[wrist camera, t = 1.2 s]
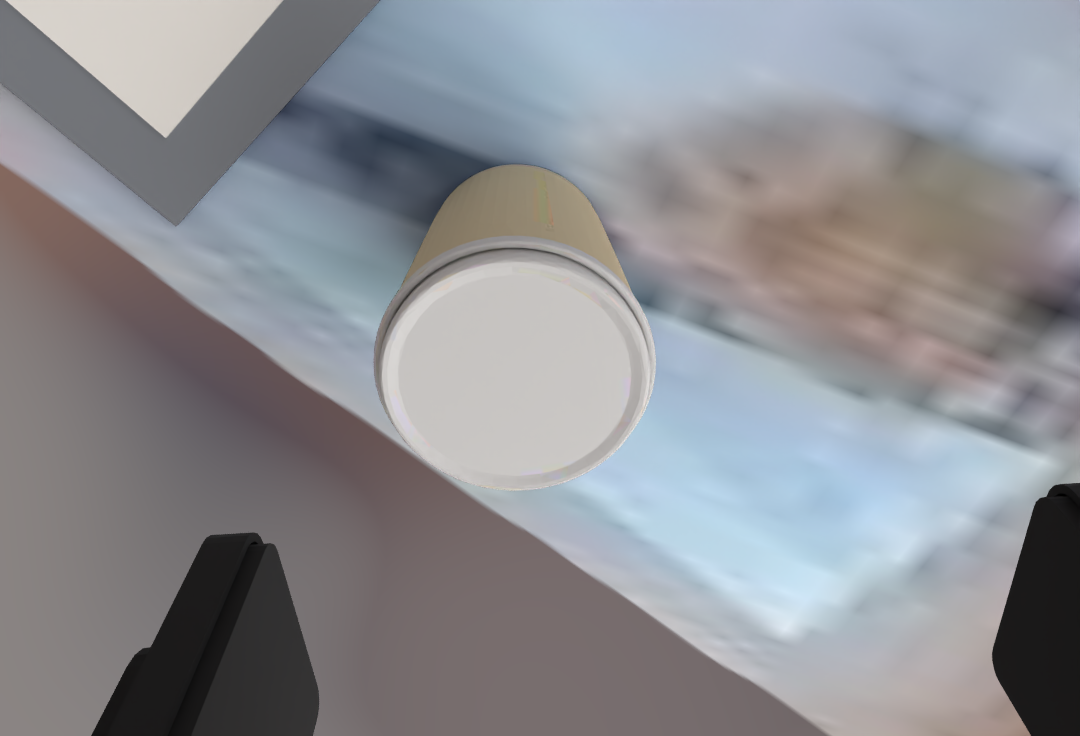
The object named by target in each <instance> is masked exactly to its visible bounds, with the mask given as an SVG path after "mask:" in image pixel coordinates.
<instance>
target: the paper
mask: <svg viewBox="0 0 1080 736" xmlns="http://www.w3.org/2000/svg"><path fill="white" fill-rule="evenodd" d="M6 1H7V2H8V3H9V4H11V5H12V6H13V7H14V8H15V9H16V10H17V11H19V12H20V13H21V14H22V15H23V16H24V17H26V18H27V19H28V20H29V21H30V22H31V23H33V24H34V25H35V26H36V27H37V28H38V29H40V30H41V31H42V32H43V33H44V34H45V35H46V36H48V37H49V38H50V39H51V40H52V41H53V42H55V43H56V44H57V45H58V46H59V47H60V48H62V49H63V50H64V51H65V52H66V53H67V54H69V55H70V56H71V57H72V58H73V59H74V60H75V61H77V62H78V63H79V64H80V65H81V66H82V67H84V68H85V69H86V70H87V71H88V72H89V73H91V74H92V75H93V76H94V77H95V78H96V79H98V80H99V81H100V82H101V83H102V84H103V85H105V86H106V87H107V88H108V89H109V90H110V91H111V92H113V93H114V94H115V95H116V96H117V97H118V98H120V99H121V100H122V101H123V102H124V103H125V104H127V105H128V106H129V107H130V108H131V109H132V110H134V111H135V112H136V113H137V114H138V115H139V116H140V117H142V118H143V119H144V120H145V121H146V122H147V123H149V124H150V125H151V126H152V127H153V128H154V129H156V130H157V131H158V132H159V133H160V134H161V135H163V136H164V137H165V138H167V137H168V136H169V135H170V133H171V132H172V131H173V130H174V129H175V127H176V126H177V125H178V124H179V123H180V122H181V120H182V119H183V118H184V117H185V116H186V114H187V113H188V112H189V111H190V110H191V109H192V107H193V106H194V105H195V104H196V103H197V102H198V100H199V99H200V98H201V97H202V96H203V94H204V93H205V92H206V91H207V90H208V89H209V87H210V86H211V85H212V84H213V83H214V82H215V80H216V79H217V78H218V77H219V76H220V74H221V73H222V72H223V71H224V70H225V69H226V67H227V66H228V65H229V64H230V63H231V62H232V60H233V59H234V58H235V57H236V56H237V54H238V53H239V52H240V51H241V50H242V49H243V47H244V46H245V45H246V44H247V43H248V42H249V40H250V39H251V38H252V37H253V36H254V34H255V33H256V32H257V31H258V30H259V29H260V27H261V26H262V25H263V24H264V23H265V22H266V20H267V19H268V18H269V17H270V16H271V14H272V13H273V12H274V11H275V10H276V9H277V7H278V6H279V5H280V4H281V3H282V2H283V0H6Z"/></svg>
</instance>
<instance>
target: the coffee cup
mask: <svg viewBox="0 0 1080 736" xmlns="http://www.w3.org/2000/svg"><path fill="white" fill-rule="evenodd" d="M655 364H656V356H655V347H654V341H653V337H652V332H651V329H650V326H649V323H648V321H647V318H646V316H645V314H644V312H643V310H642V308H641V306H640V304H639V303H638V301H637V299H636V298H635V296H634V295H633V294H632V291H631V289H630V287H629V284H628V282H627V280H626V277H625V275H624V273H623V271H622V268H621V266H620V264H619V261H618V259H617V257H616V255H615V252H614V250H613V248H612V246H611V244H610V241H609V239H608V237H607V235H606V232H605V230H604V228H603V226H602V224H601V221H600V219H599V217H598V216H597V214H596V212H595V210H594V209H593V207H592V205H591V203H590V202H589V201H588V199H587V198H586V197H585V195H584V194H583V193H582V192H581V191H580V190H579V189H578V188H577V187H575V186H574V185H573V184H572V183H571V182H569V181H568V180H567V179H565V178H564V177H562V176H560V175H558V174H556V173H554V172H552V171H550V170H547V169H544V168H541V167H537V166H532V165H524V164H508V165H501V166H496V167H492V168H489V169H486V170H484V171H481V172H479V173H477V174H475V175H473V176H472V177H470V178H468V179H467V180H465V181H464V182H463V183H461V184H460V185H459V186H458V187H457V188H456V189H455V190H454V191H453V192H452V193H451V194H450V195H449V197H448V198H447V199H446V200H445V202H444V203H443V205H442V207H441V208H440V210H439V212H438V213H437V215H436V217H435V218H434V220H433V222H432V224H431V226H430V228H429V230H428V232H427V234H426V236H425V238H424V240H423V242H422V244H421V246H420V248H419V250H418V252H417V254H416V257H415V259H414V261H413V263H412V265H411V267H410V269H409V271H408V273H407V275H406V277H405V279H404V281H403V283H402V286H401V288H400V289H399V290H398V292H397V293H396V295H395V296H394V298H393V299H392V301H391V303H390V304H389V306H388V308H387V310H386V312H385V314H384V316H383V318H382V320H381V323H380V326H379V329H378V332H377V337H376V342H375V348H374V376H375V382H376V387H377V391H378V394H379V397H380V401H381V403H382V405H383V407H384V410H385V412H386V414H387V415H388V417H389V419H390V421H391V422H392V424H393V425H394V427H395V428H396V430H397V431H398V433H399V434H400V435H401V437H402V438H403V440H404V441H405V442H406V443H407V444H408V445H409V446H410V447H411V448H412V449H413V451H414V452H416V453H417V454H418V455H419V456H420V457H421V458H422V459H424V460H425V461H426V462H428V463H429V464H431V465H432V466H433V467H435V468H436V469H438V470H440V471H442V472H443V473H445V474H447V475H449V476H451V477H454V478H456V479H458V480H460V481H463V482H466V483H470V484H473V485H477V486H480V487H484V488H491V489H498V490H510V491H515V490H532V489H540V488H545V487H550V486H554V485H558V484H561V483H564V482H567V481H569V480H572V479H575V478H577V477H579V476H581V475H583V474H585V473H587V472H589V471H590V470H592V469H594V468H595V467H597V466H598V465H600V464H601V463H602V462H604V461H605V460H606V459H608V458H609V457H610V456H611V455H612V454H613V453H614V452H615V451H617V450H618V449H619V448H620V446H621V445H622V444H623V443H624V442H625V440H626V439H627V438H628V436H629V435H630V434H631V432H632V431H633V430H634V428H635V427H636V425H637V424H638V422H639V421H640V419H641V417H642V415H643V413H644V411H645V410H646V407H647V405H648V402H649V399H650V397H651V393H652V389H653V385H654V379H655Z"/></svg>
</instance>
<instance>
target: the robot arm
mask: <svg viewBox="0 0 1080 736" xmlns="http://www.w3.org/2000/svg"><path fill="white" fill-rule="evenodd" d="M992 661H993V666H994V670H995V673H996V676H997V678H998V680H999V682H1000V684H1001V686H1002V687H1003V689H1004V691H1005V692H1006V694H1007V696H1008V697H1009V699H1010V701H1011V702H1012V704H1013V706H1014V707H1015V709H1016V711H1017V713H1018V714H1019V716H1020V718H1021V719H1022V721H1023V723H1024V724H1025V726H1026V728H1027V729H1028V731H1029V733H1030V734H1031V736H1080V483H1072V484H1059V485H1055V486H1053V487H1052V488H1051V489H1050V490H1049V492H1048V495H1047V497H1043V498H1040V499H1039V500H1038V501H1037V502H1036V504H1035V506H1034V509H1033V512H1032V516H1031V519H1030V523H1029V526H1028V529H1027V533H1026V536H1025V540H1024V543H1023V547H1022V550H1021V554H1020V557H1019V560H1018V564H1017V567H1016V571H1015V574H1014V578H1013V581H1012V585H1011V588H1010V591H1009V595H1008V598H1007V602H1006V605H1005V609H1004V612H1003V616H1002V619H1001V622H1000V626H999V629H998V633H997V636H996V640H995V643H994V647H993V652H992ZM318 692H319V691H318V687H317V683H316V679H315V676H314V672H313V669H312V666H311V662H310V659H309V656H308V652H307V649H306V645H305V642H304V639H303V635H302V632H301V629H300V625H299V622H298V618H297V615H296V612H295V608H294V605H293V601H292V598H291V595H290V591H289V588H288V585H287V581H286V578H285V574H284V571H283V568H282V564H281V561H280V558H279V554H278V551H277V549H276V547H275V545H274V544H271V543H269V544H263V542H262V539H261V537H260V536H259V535H258V534H257V533H240V534H223V535H210V536H209V537H207V538H206V539H205V541H204V542H203V544H202V545H201V548H200V550H199V551H198V554H197V555H196V558H195V559H194V561H193V563H192V565H191V568H190V569H189V572H188V574H187V576H186V578H185V580H184V582H183V584H182V586H181V588H180V590H179V592H178V594H177V596H176V598H175V600H174V602H173V604H172V606H171V608H170V610H169V612H168V614H167V616H166V618H165V620H164V622H163V624H162V626H161V628H160V630H159V632H158V634H157V636H156V638H155V640H154V642H153V644H152V646H151V647H150V648H143V649H142V650H140V651H139V652H138V653H137V654H135V655H134V657H133V658H132V660H131V662H130V663H129V664H128V666H127V668H126V669H125V671H124V673H123V675H122V677H121V679H120V681H119V683H118V685H117V687H116V689H115V691H114V693H113V695H112V697H111V698H110V701H109V702H108V704H107V706H106V708H105V710H104V712H103V714H102V716H101V718H100V720H99V722H98V724H97V726H96V728H95V730H94V731H93V733H92V735H91V736H313V732H314V729H315V725H316V721H317V716H318V710H319V693H318Z"/></svg>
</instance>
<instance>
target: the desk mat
mask: <svg viewBox="0 0 1080 736" xmlns="http://www.w3.org/2000/svg"><path fill="white" fill-rule="evenodd" d="M379 1H380V0H283V2H282V3H281V4H280V5H279V6H278V7H277V9H276V10H275V11H274V12H273V13H272V14H271V16H270V17H269V18H268V19H267V20H266V22H265V23H264V24H263V25H262V26H261V27H260V29H259V30H258V31H257V32H256V33H255V34H254V36H253V37H252V38H251V39H250V40H249V42H248V43H247V44H246V45H245V46H244V47H243V49H242V50H241V51H240V52H239V53H238V54H237V56H236V57H235V58H234V59H233V60H232V62H231V63H230V64H229V65H228V66H227V67H226V69H225V70H224V71H223V72H222V73H221V74H220V76H219V77H218V78H217V79H216V80H215V82H214V83H213V84H212V85H211V86H210V87H209V89H208V90H207V91H206V92H205V93H204V94H203V96H202V97H201V98H200V99H199V100H198V102H197V103H196V104H195V105H194V106H193V107H192V109H191V110H190V111H189V112H188V113H187V114H186V116H185V117H184V118H183V119H182V120H181V122H180V123H179V124H178V125H177V126H176V127H175V129H174V130H173V131H172V132H171V133H170V135H169V136H168V137H167V138H165V137H164V136H163V135H161V134H160V133H159V132H158V131H157V130H156V129H154V128H153V127H152V126H151V125H150V124H149V123H147V122H146V121H145V120H144V119H143V118H142V117H140V116H139V115H138V114H137V113H136V112H135V111H134V110H132V109H131V108H130V107H129V106H128V105H127V104H125V103H124V102H123V101H122V100H121V99H120V98H118V97H117V96H116V95H115V94H114V93H113V92H111V91H110V90H109V89H108V88H107V87H106V86H105V85H103V84H102V83H101V82H100V81H99V80H98V79H96V78H95V77H94V76H93V75H92V74H91V73H89V72H88V71H87V70H86V69H85V68H84V67H82V66H81V65H80V64H79V63H78V62H77V61H75V60H74V59H73V58H72V57H71V56H70V55H69V54H67V53H66V52H65V51H64V50H63V49H62V48H60V47H59V46H58V45H57V44H56V43H55V42H53V41H52V40H51V39H50V38H49V37H48V36H46V35H45V34H44V33H43V32H42V31H41V30H40V29H38V28H37V27H36V26H35V25H34V24H33V23H31V22H30V21H29V20H28V19H27V18H26V17H24V16H23V15H22V14H21V13H20V12H19V11H17V10H16V9H15V8H14V7H13V6H12V5H11V4H9V3H8V2H7V1H6V0H0V83H1V84H2V85H4V86H5V87H6V88H7V89H9V90H10V91H11V92H12V93H13V94H15V95H16V96H17V97H18V98H20V99H21V100H22V101H23V102H24V103H26V104H27V105H28V106H29V107H31V108H32V109H33V110H34V111H35V112H37V113H38V114H39V115H40V116H41V117H43V118H44V119H45V120H46V121H48V122H49V123H50V124H51V125H52V126H54V127H55V128H56V129H57V130H59V131H60V132H61V133H62V134H63V135H65V136H66V137H67V138H68V139H70V140H71V141H72V142H73V143H74V144H76V145H77V146H78V147H79V148H81V149H82V150H83V151H84V152H85V153H87V154H88V155H89V156H90V157H92V158H93V159H94V160H95V161H96V162H98V163H99V164H100V165H101V166H102V167H104V168H105V169H106V170H107V171H109V172H110V173H111V174H112V175H113V176H115V177H116V178H117V179H118V180H120V181H121V182H122V183H123V184H124V185H126V186H127V187H128V188H129V189H131V190H132V191H133V192H134V193H135V194H137V195H138V196H139V197H140V198H142V199H143V200H144V201H145V202H146V203H148V204H149V205H150V206H151V207H152V208H154V209H155V210H156V211H157V212H159V213H160V214H161V215H162V216H163V217H165V218H166V219H167V220H168V221H170V222H171V223H172V224H173V225H174V226H177V225H178V224H179V223H180V222H181V221H182V220H183V219H184V218H185V216H186V215H187V214H188V213H189V212H190V211H191V210H192V209H193V208H194V206H195V205H196V204H197V203H198V202H199V201H200V200H201V199H202V198H203V196H204V195H205V194H206V193H207V192H208V191H209V190H210V189H211V188H212V186H213V185H214V184H215V183H216V182H217V181H218V180H219V179H220V178H221V176H222V175H223V174H224V173H225V172H226V171H227V170H228V169H229V168H230V166H231V165H232V164H233V163H234V162H235V161H236V160H237V159H238V158H239V156H240V155H241V154H242V153H243V152H244V151H245V150H246V149H247V148H248V146H249V145H250V144H251V143H252V142H253V141H254V140H255V139H256V138H257V136H258V135H259V134H260V133H261V132H262V131H263V130H264V129H265V128H266V126H267V125H268V124H269V123H270V122H271V121H272V120H273V119H274V118H275V117H276V115H277V114H278V113H279V112H280V111H281V110H282V109H283V108H284V107H285V105H286V104H287V103H288V102H289V101H290V100H291V99H292V98H293V97H294V95H295V94H296V93H297V92H298V91H299V90H300V89H301V88H302V87H303V85H304V84H305V83H306V82H307V81H308V80H309V79H310V78H311V77H312V75H313V74H314V73H315V72H316V71H317V70H318V69H319V68H320V67H321V65H322V64H323V63H324V62H325V61H326V60H327V59H328V58H329V57H330V55H331V54H332V53H333V52H334V51H335V50H336V49H337V48H338V47H339V45H340V44H341V43H342V42H343V41H344V40H345V39H346V38H347V37H348V35H349V34H350V33H351V32H352V31H353V30H354V29H355V28H356V27H357V25H358V24H359V23H360V22H361V21H362V20H363V19H364V18H365V17H366V15H367V14H368V13H369V12H370V11H371V10H372V9H373V8H374V7H375V5H376V4H377V3H378V2H379Z"/></svg>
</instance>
